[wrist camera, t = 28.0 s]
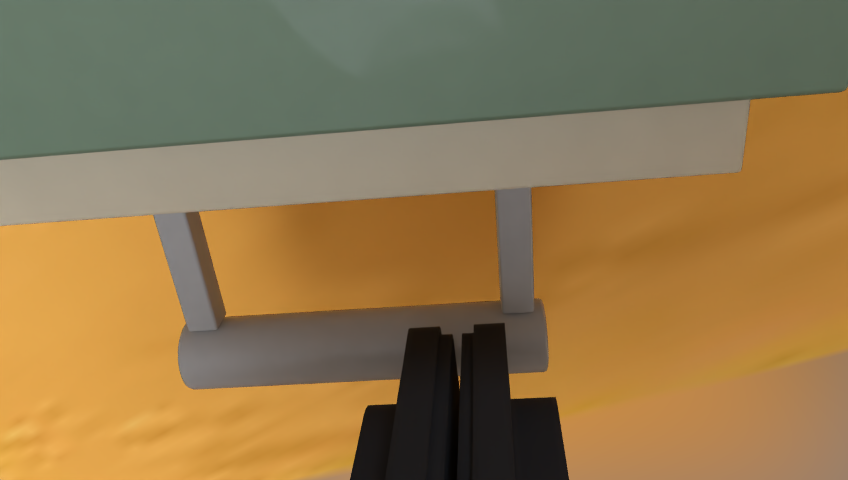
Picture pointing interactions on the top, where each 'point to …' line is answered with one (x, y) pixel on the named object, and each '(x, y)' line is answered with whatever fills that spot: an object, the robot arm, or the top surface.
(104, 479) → the top surface
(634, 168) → the drawer
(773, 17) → the cabinet
